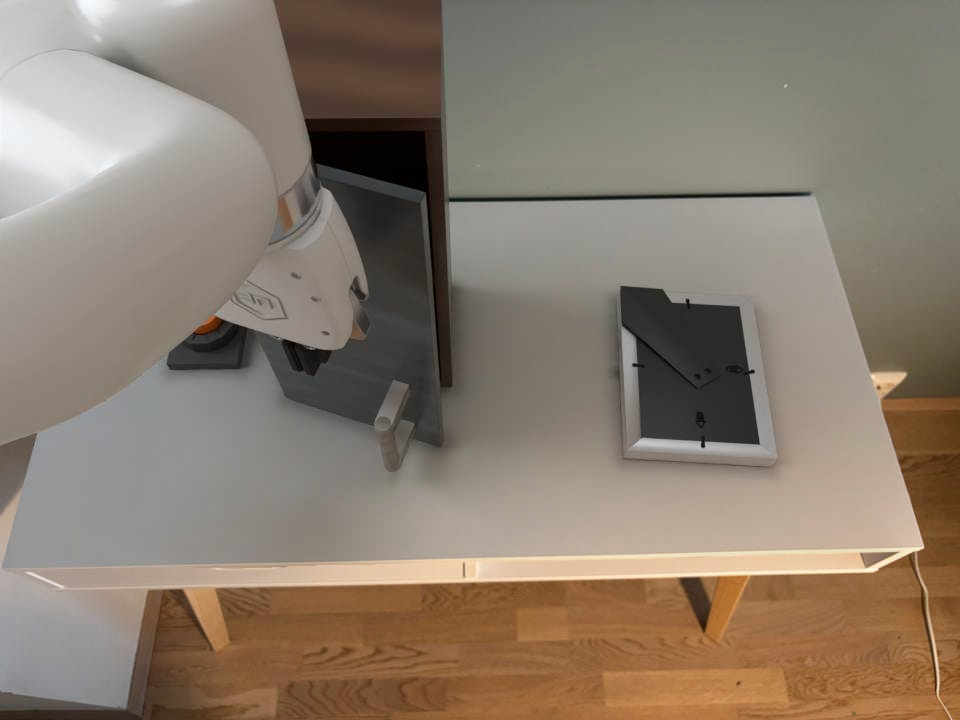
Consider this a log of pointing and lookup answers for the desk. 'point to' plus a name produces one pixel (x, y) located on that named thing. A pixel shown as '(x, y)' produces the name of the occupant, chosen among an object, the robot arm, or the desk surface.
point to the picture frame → (692, 379)
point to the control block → (210, 349)
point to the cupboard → (380, 109)
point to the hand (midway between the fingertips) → (312, 357)
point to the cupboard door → (380, 323)
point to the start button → (209, 325)
